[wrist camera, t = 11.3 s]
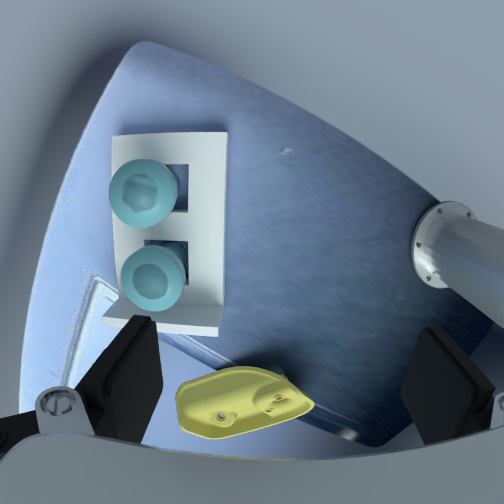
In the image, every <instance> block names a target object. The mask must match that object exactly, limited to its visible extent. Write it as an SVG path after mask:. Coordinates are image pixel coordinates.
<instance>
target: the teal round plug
mask: <svg viewBox="0 0 504 504" xmlns="http://www.w3.org/2000/svg"><path fill="white" fill-rule="evenodd" d="M179 191H180V182H179V179H178V177H177V176H176V175H175V174H174V173H172V172H171V171H170V170H169V168H168V167H167V166H165V165H164V164H163V163H161V162H159V161H156V160H152V159H135V160H131V161H129V162H127V163H125V164H123V165H122V166H121V167H120V168H119V169H118V170H117V171H116V172H115V174H114V176H113V177H112V180H111V183H110V187H109V200H110V204H111V207H112V209H113V211H114V213H115V215H116V216H117V217H118V218H119V219H120V220H121V221H122V222H124V223H125V224H127V225H129V226H131V227H135V228H147V227H150V226H153V225H155V224H157V223H158V222H160V221H161V220H163V219H164V218H166V217H167V216H168V215H169V214H170V213H171V211H172V210H173V208H174V206H175V203H176V200H177V196H178V194H179Z"/></svg>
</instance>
